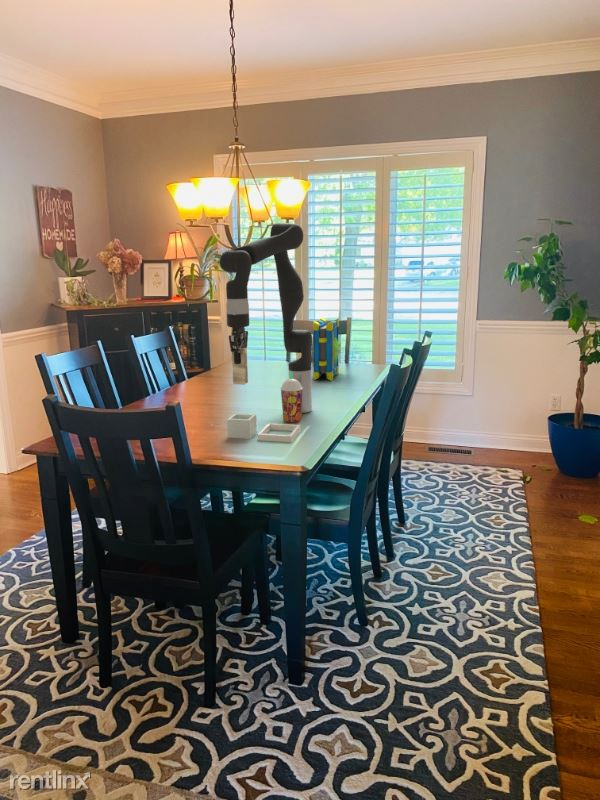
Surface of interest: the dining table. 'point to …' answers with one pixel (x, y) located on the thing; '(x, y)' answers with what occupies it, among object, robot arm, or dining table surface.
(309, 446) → the dining table surface
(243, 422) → the white open box
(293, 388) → the smoothie
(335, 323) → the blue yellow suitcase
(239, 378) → the birch peg
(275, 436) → the plastic tray
